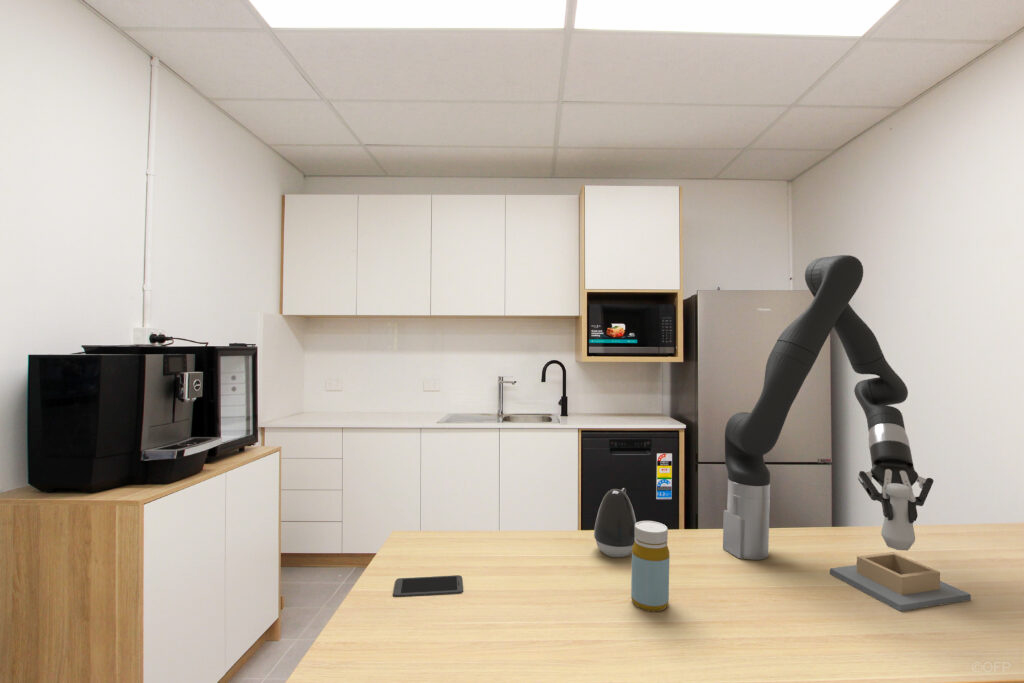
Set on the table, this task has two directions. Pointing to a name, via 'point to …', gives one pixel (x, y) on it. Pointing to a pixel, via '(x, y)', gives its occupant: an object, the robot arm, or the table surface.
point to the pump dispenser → (615, 524)
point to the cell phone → (428, 586)
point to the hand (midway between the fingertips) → (901, 519)
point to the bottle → (650, 566)
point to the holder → (899, 581)
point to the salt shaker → (898, 519)
